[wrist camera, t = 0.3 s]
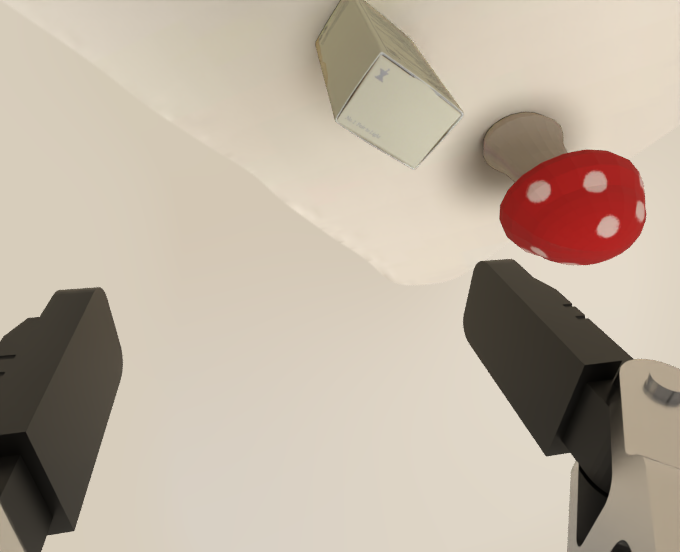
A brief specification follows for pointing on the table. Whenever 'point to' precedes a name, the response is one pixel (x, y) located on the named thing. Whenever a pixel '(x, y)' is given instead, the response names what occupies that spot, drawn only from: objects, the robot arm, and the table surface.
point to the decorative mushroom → (564, 193)
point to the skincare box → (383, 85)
